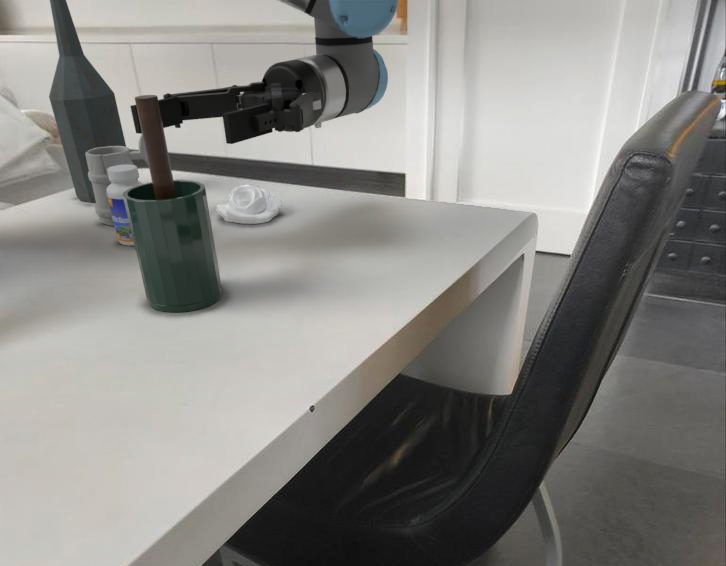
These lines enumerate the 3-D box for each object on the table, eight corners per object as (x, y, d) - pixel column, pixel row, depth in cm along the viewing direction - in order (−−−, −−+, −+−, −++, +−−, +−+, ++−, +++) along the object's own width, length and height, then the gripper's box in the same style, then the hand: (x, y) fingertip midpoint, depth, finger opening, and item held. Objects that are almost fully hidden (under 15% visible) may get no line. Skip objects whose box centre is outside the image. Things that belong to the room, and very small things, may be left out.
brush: (157, 295, 79) (113, 99, 67) (179, 282, 82) (141, 92, 70) (190, 300, 78) (150, 100, 65) (210, 286, 81) (177, 93, 69)
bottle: (141, 186, 123) (96, -21, 105) (131, 201, 115) (80, -20, 97) (83, 189, 122) (27, -18, 104) (69, 204, 115) (6, -17, 96)
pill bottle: (110, 242, 98) (91, 169, 92) (139, 232, 101) (123, 161, 95) (136, 248, 95) (118, 174, 89) (165, 237, 99) (150, 165, 93)
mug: (103, 213, 110) (82, 130, 102) (178, 209, 110) (162, 126, 103) (93, 228, 104) (69, 141, 96) (171, 223, 104) (154, 136, 97)
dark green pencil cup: (133, 307, 79) (105, 198, 71) (176, 280, 85) (155, 177, 78) (196, 316, 76) (174, 204, 69) (236, 288, 82) (220, 182, 75)
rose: (275, 174, 108) (284, 190, 100) (278, 204, 110) (287, 221, 103) (211, 180, 106) (215, 197, 98) (216, 210, 109) (220, 228, 101)
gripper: (386, 134, 82) (274, 174, 69) (232, 120, 94) (110, 152, 80) (385, 61, 78) (265, 89, 64) (223, 56, 89) (92, 78, 76)
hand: (179, 124), depth 72 cm, fingers open, 13 cm apart
